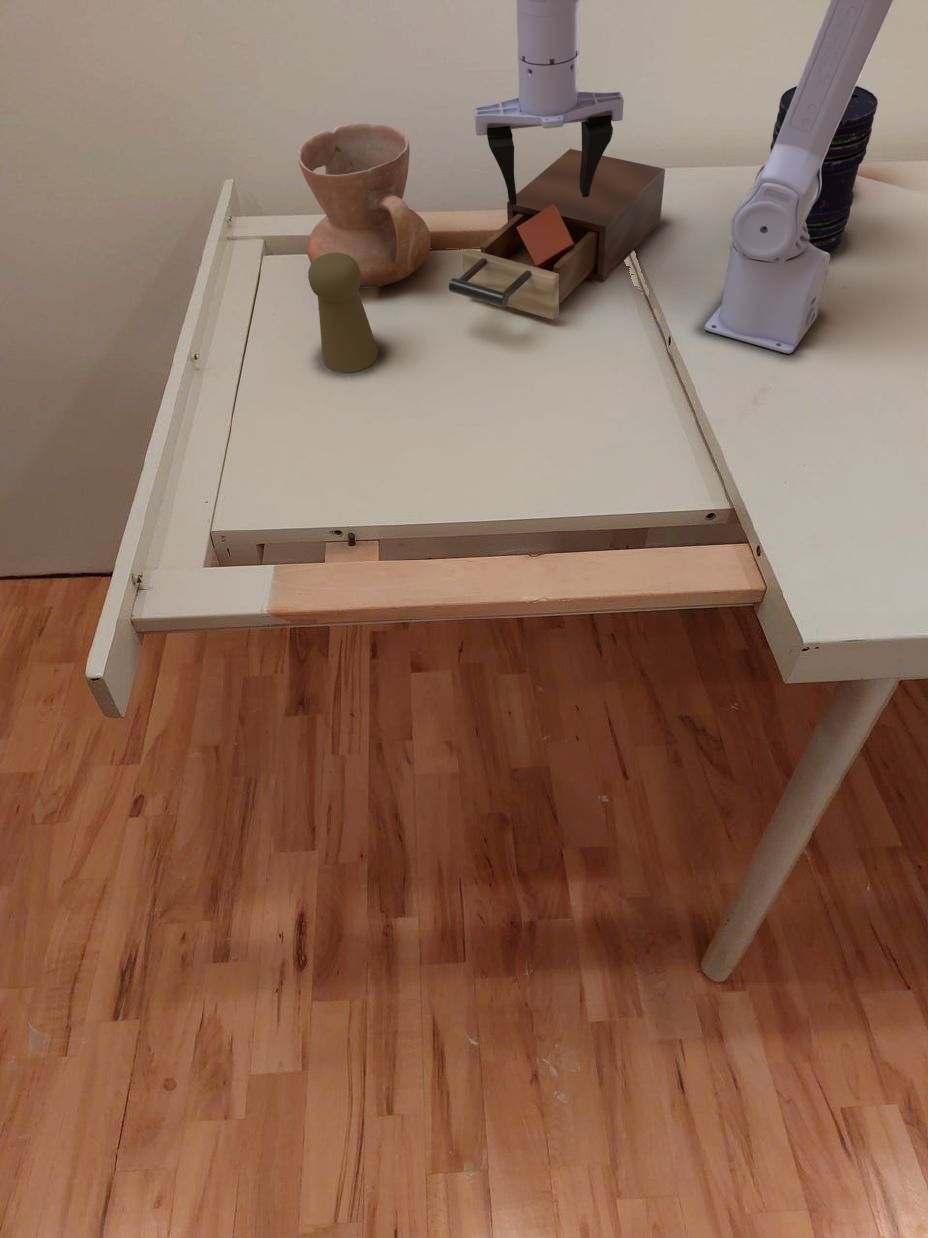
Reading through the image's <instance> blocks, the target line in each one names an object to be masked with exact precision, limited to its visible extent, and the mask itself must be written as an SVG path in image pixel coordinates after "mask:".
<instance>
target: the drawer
mask: <svg viewBox="0 0 928 1238" xmlns="http://www.w3.org/2000/svg"><path fill="white" fill-rule="evenodd" d="M532 217H534V215H530V214H526V213H522V212H519V213H518V214H517V215H516V216H514V217H513V218H512V219H511V220H510V221H509V222H508V221H507V222H506V223H505V224H504V225H503V226H501V227H500V228H499V229H498V230H497V231H495V232H494V233H493V234H492V235H491V236H490V237H489V238H488V239H486V240H485V241H484V242H483V243H482V244H480V246H479V247H480V251H478V250H475V249H471V248H467V249H466V250H465V251H464V252H462V253H461V255H462V256H461V258H462V265H463V266H462V268H463V274H462V275H461V276H460V277H458V278H456V277H453V278H451V279H450V281H449V284H448V290H449V292H451V293H454V294H457V295H460V296H464V297H467V298H471V299H473V300H477V301H481V302H483V303H487V304H490V305H492V306H496V307H499V308H506V307H509V308H512V309H516V310H520V311H523V312H526V313H530V314H533V315H536V316H539V317H543V318H545V319H549V320H555V319H556V318H557V317H558V316H559V314H560V304H561V303H562V302H563V301H564V300H565V299H566V298H567V297H568V296H569V295H570V294H571V293H572V292H573V291H574V290H575V289H576V288H577V287H578V286H579V285H580V284H581V283H582V282H583V281H584V280H585V279H586V277H587V276H588V275H589V274H590V273H591V272H592V271H593V270H594V269H595V268H596V267H597V266H598V249H599V231H595V230H591V229H587V228H583V227H579V226H575V225H571V224H567V223H565V225H566V227H567V229H568V231H569V233H570V235H571V237H572V239H573V241H574V243H575V246H574V247H573V248H572V249H571V250H570V251H569V252H567V253H566V254H565V255H564V256H562V257H561V258H559V259H557V260H556V261H554V262H553V263H551V264H549V265H548V266H546V267H545V268H543V269H540V268H538V267H537V266H536V265H535V263H534V261H533V259H532V257H531V255H530V253H529V252H528V250H527V248H526V246H525V244H524V242H523V240H522V238H521V236H520V234H519V232H518V230H517V227H518V226H520V225H521V224H523V223H524V222H526V221H528V220H529V219H531V218H532Z"/></svg>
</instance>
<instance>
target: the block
mask: <svg viewBox="0 0 928 1238" xmlns="http://www.w3.org/2000/svg"><path fill="white" fill-rule="evenodd" d="M517 230H518V232H519V234H520V236H521V238H522V240H523V242H524V244H525V246H526V248H527V250H528V252H529V253H530V255H531V257H532V259H533V261H534V263H535V265H536V266H537V267H538V268H540V269H543V268H545V267H546V266H548V265H549V264H551V263H553V262H554V261H556V260H557V259H559V258H561V257H562V256H564V255H565V254H566V253H567V252H569V251H570V250H571V249H572V248H573V247H574V246H575V243H574V241H573V239H572V237H571V235H570V233H569V231H568V229H567V227H566V225H565V223H564V221H563V219H562V218H561V216H560V214H559V212H558V210H557V208H556V207H555V206H554V204H552V205H551V206H549V207H548V208H546V209H545V210H543V211H541V212H540V213H538V214H537V215H535V216H534V217H532V218H531V219H529V220H528V221H526V222H524V223H523V224H521V225H520V226H518V227H517Z"/></svg>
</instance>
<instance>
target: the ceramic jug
mask: <svg viewBox="0 0 928 1238" xmlns="http://www.w3.org/2000/svg"><path fill="white" fill-rule="evenodd" d="M297 153H298V154H297V161H298V164H299V167H300V170H301V173H302V175H303V177H304V180H305V182H306V184H307V185H308V188H309V189H310V192H312V194H313V196H314V198H315V200H316V202H317V203H318V204H319V206H320V208H321V209H322V211H323V212H324V214H325V216H324V217H323V218H322V219H321V220H320V221H319V222H318V223H317V224H316V225H315V226H314V228H313V229H312V230H311V233H310V235H309V237H308V240H307V246H306V253H307V256H308V259H309V262H310V264H311V263H312V262H313V261H314V260H315V259H317V258H318V257H320V256H322V255H325V254H329V253H343V254H347V255H349V256H351V257H352V258H353V259H354V260H355V261H356V262H357V264H358V266H359V269H360V273H361V282H360V287H359V288H358V289H366V288H378V287H384V286H387V285H391V284H395V283H397V282H400V281H402V280H404V279H406V278H408V277H409V276H410V275H411V276H412V274H414V273H415V272H416V271H417V270H418V269H419V268H420V267H421V266H422V265H423V264H424V262H425V261H426V260H427V258H428V256H429V253H430V251H431V247H432V246H431V245H432V237H431V233H430V229H429V227H428V225H427V223H426V222H425V220H424V219H423V218H422V216H420V215H419V214H418V213H417V212H416V211H414V210H412V209H411V208H410V207H409V206H408V204H407V202H406V201H405V200H403V198H404V195H405V192H406V191H405V190H406V186H407V181H408V176H409V175H408V174H409V167H410V166H409V165H410V140H409V137H408V135H407V134H406V133H405V132H404V131H403V130H402V129H401V128H398V127H396V126H393V125H391V124H390V125H389V124H387V123H379V122H378V123H376V122H353V123H346V124H341V125H338V126H335V127H334V128H333V130H332V131H331V130H327V129H323V130H321V131H319V132H317V133H315V134H313V135H312V136H310V137H309V138H307V139H306V140H305V141H304V142H303V143H302V144H301V146H300V147H299V149H298V152H297ZM322 167H324V168H325V171H324V173H319V172H316V171H315V170H316V169H319V168H322Z"/></svg>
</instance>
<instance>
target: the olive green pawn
mask: <svg viewBox="0 0 928 1238" xmlns="http://www.w3.org/2000/svg"><path fill="white" fill-rule="evenodd" d="M307 273H308V275H307V279H308V283H309V285H310V288H311V291H312V292H313V293H314V294H315V295H316V296H317V302H318V317H319V329H320V331H319V332H320V344H321V355H322V362H323V365H324V366H325V367H326V368H327V369H329V370H330V371H333V372H335V373H341V374H351V373H356V372H361V371H362V370H365V369H367V368H369V367H370V366H372V365H373V364H374V363H375V362H376V361H377V359H378V358H379V350H378V346H377V343H376V340H375V337H374V333H373V331H372V328H371V325H370V321H369V318H368V316H367V313H366V310H365V306H364V303H363V301H362V298H361V294H360V292H359V289H360V288H359V287H360V282H361V273H360V269H359V266H358V264H357V262H356V261H355V260H354V259H353V258H352V257H351V256H349V255H347V254H343V253H329V254H325V255H322V256H320V257H318V258H317V259H315V260H314V261H313V262H312V263H311V262H310V266H309V269H308V271H307Z"/></svg>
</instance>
